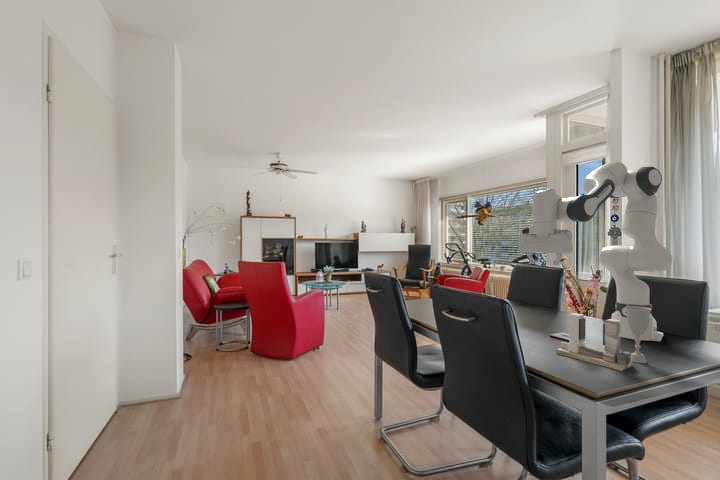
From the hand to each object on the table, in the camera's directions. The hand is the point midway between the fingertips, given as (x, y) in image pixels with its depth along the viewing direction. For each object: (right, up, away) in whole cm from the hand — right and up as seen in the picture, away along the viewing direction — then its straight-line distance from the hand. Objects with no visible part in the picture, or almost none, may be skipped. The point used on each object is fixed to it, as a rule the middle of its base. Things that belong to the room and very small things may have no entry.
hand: (544, 264), depth 139 cm
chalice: (+21, -32, -21) cm, 43 cm away
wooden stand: (+6, -31, -20) cm, 37 cm away
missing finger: (+3, -29, -16) cm, 34 cm away
